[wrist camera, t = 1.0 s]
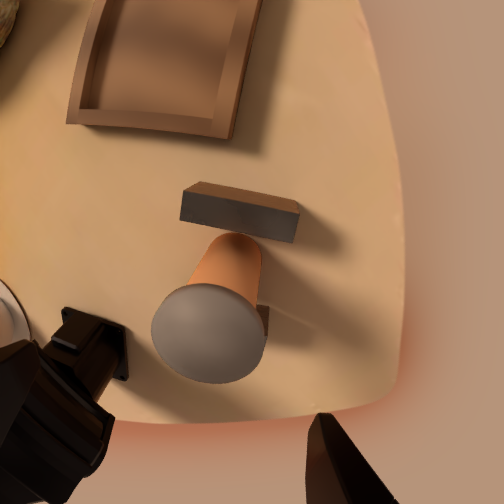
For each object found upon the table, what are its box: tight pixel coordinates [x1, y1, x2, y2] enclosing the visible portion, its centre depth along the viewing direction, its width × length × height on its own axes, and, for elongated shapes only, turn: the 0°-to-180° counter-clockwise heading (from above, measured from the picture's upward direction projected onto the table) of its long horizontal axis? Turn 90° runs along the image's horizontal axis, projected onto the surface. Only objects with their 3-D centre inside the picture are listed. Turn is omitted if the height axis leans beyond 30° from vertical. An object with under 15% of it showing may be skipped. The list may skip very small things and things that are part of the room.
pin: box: [151, 233, 264, 384], centre depth 16 cm, size 5×5×9 cm
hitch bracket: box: [180, 182, 300, 351], centre depth 18 cm, size 9×6×4 cm, turn 169°
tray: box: [66, 0, 262, 139], centre depth 14 cm, size 11×11×2 cm
